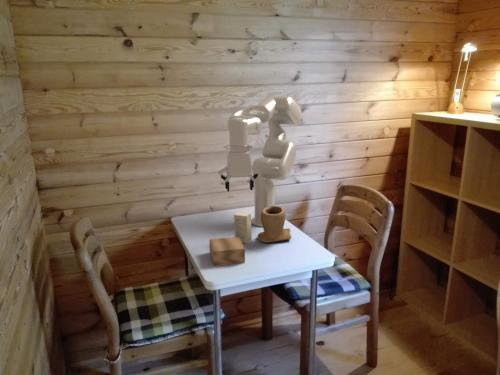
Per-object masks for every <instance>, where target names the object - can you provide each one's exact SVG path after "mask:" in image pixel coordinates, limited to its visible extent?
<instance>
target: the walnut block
mask: <svg viewBox="0 0 500 375" xmlns="http://www.w3.org/2000/svg"><path fill="white" fill-rule="evenodd" d="M245 250H246V248H245V245H244V243H242V242H241V239H240V237H235V236H231V237H221V238H220V237H219V238H210V239H209V254H210V258H211V261H212V266H214V267H215V266H224V265H234V264H236V265H237V264H244V263H246V251H245Z"/></svg>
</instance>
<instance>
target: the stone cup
mask: <svg viewBox="0 0 500 375" xmlns="http://www.w3.org/2000/svg"><path fill="white" fill-rule="evenodd" d="M286 215H287V214H286V211H285V208H283V207H282V206H280V205H275V206H270V207H266V208H264V209H263V210H262V212H261V223H262V226H263V227H262V229H263V231H260V232H258V234H257V238H258V240H259V241H260V242H263V243H274V242H275V243H276V242H281V241H288V240H290V239H292V234H291V229H290V228H284V227H285V226H284V225H285V222H286V217H287V216H286Z"/></svg>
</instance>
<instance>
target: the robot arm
mask: <svg viewBox="0 0 500 375" xmlns="http://www.w3.org/2000/svg"><path fill="white" fill-rule="evenodd" d="M302 118H303V113H302V109H301V108H300V107H299V105H298V103H297V102H296V101H295V100H294V99H293V98H292V97H290V96H286V95H284V96H283V95H270V96H268V97H266V98H264V99H263V100H261V102H259V103H258V104H256V105H252V106H249V107H246V108H242V109H240V110H238V111H235V113H233V114H232V115H231V116H230V117H229V118H228V120H227V129H228V132H229V133H228V134H229V136H228V137H229V151H228V152H227V156H226V166H224V167H223V168H221V169H220V170H218V172H217V173H218V174H219V175H218V176H220V178H221V179H222V180H223V181H224V182H225V184H224V186H225V190H226V191H227V192H230V181H229V180H231V178H247V177H249V189H250V191H253V190H254V194H253V195H254V217H253V218H251V225H254V226H257V227H262V228H263V226H262V223H261V212H262V210H263V209H264V208H266V207H270V206H276V205H275V195H276V194H275V193H276V191H275V190H276V189H275V188H276V187H275V184H274V182H273V180H276V181H284V180H286V179H288V176H289V175H290V172H291V169H292V167H293V164H294V162H295V160H296V155H297V147H296V144H295V143H294V142H292V141H291V140H290V141H289V140H286V139H287V133H286V132H285V129H283V127H282V125H286V126H287V125H289V126H291V125H292V126H294V125H295V126H296V125H298V124H300V123H301V121H302ZM264 123H268V130H269V132H268V135H267V138H266V140H265V143H264V145H263V147H262V152H261V153H262V157H257V158H255V159H254V160H253V162H252V157H251V152H250V151H249V150H252V149H253V146H252V145H249V136H250V135H251V136H252V135H253V136H254V135H257V134H259V133H260V132H261V131H262V127H263V124H264ZM225 172H226V176H225V175H224V173H225Z"/></svg>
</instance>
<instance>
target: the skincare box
mask: <svg viewBox="0 0 500 375" xmlns="http://www.w3.org/2000/svg"><path fill="white" fill-rule="evenodd" d="M251 220H252V214H251V213H249V212H242V211H241V212H240V211H237V212H236V213H235V214H233V221H234V222H233V223H234V224H233V225H234V237H240V239H241V242H242V244H249V243H250V242H251V241H252V239H253V237H252V235H253V234H252V222H251Z"/></svg>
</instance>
